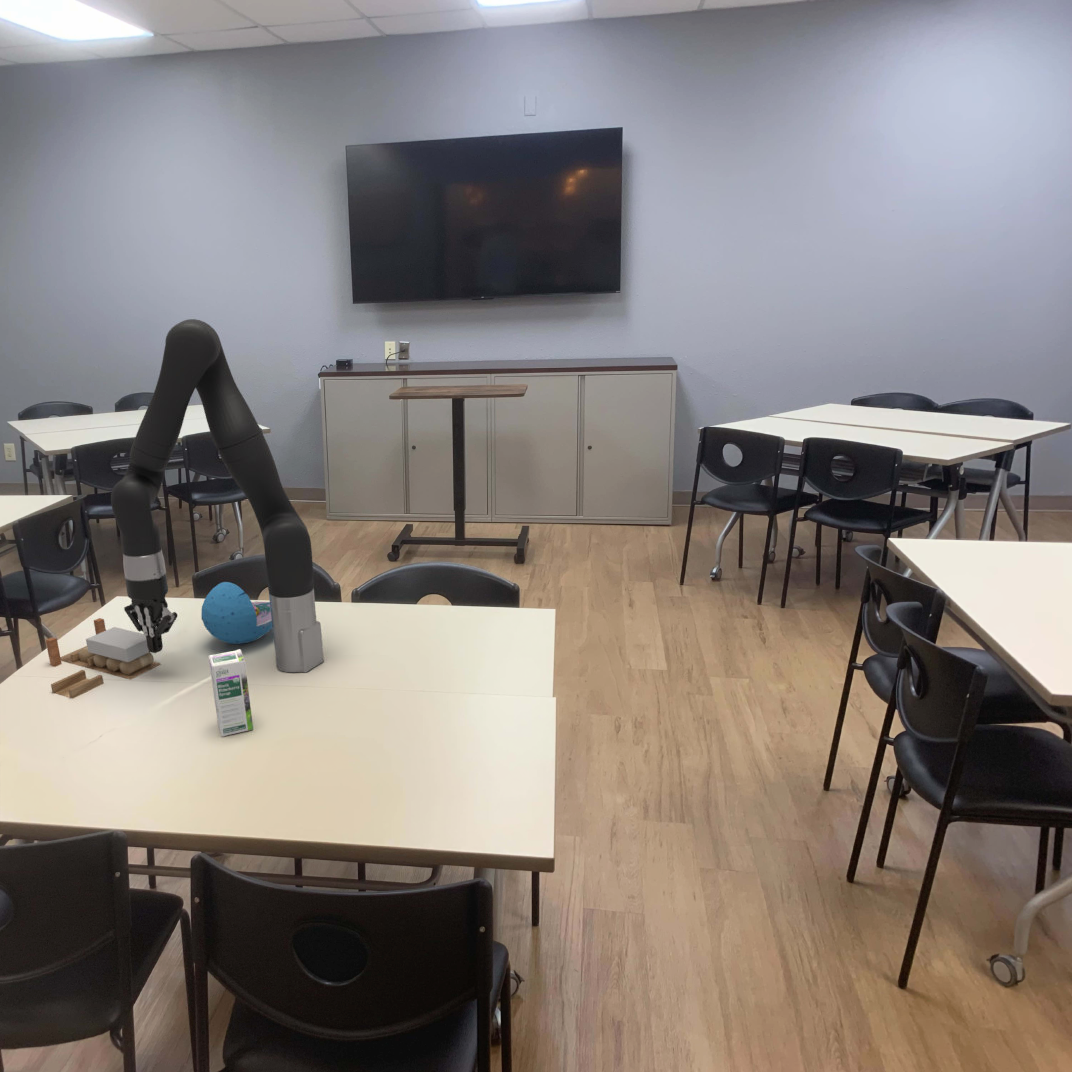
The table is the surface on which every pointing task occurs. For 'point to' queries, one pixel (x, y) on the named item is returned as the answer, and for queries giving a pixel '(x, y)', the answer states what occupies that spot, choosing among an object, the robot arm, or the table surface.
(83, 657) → the dowel
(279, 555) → the robot arm
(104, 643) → the slab
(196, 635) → the table surface
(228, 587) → the educational model
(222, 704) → the syrup box
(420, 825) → the table surface
